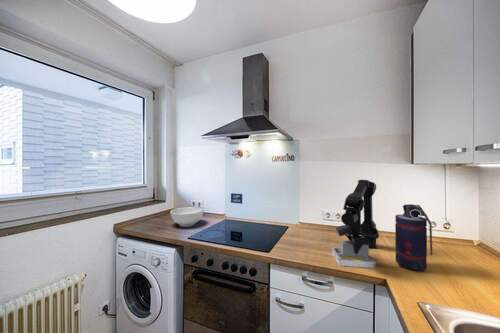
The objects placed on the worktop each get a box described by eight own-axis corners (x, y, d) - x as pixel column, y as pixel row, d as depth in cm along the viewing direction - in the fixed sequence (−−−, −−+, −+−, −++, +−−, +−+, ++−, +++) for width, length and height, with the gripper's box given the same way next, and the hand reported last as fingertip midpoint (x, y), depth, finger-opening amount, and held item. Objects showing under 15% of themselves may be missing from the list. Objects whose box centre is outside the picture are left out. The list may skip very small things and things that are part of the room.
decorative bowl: (162, 228, 155) (162, 212, 155) (183, 219, 181) (183, 206, 181) (192, 231, 147) (192, 215, 147) (209, 221, 173) (209, 208, 173)
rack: (362, 254, 109) (362, 248, 109) (375, 268, 94) (375, 261, 94) (331, 252, 111) (331, 246, 111) (339, 265, 96) (339, 258, 96)
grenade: (393, 265, 96) (393, 204, 96) (397, 258, 104) (397, 201, 105) (431, 277, 86) (431, 209, 86) (433, 267, 95) (433, 205, 95)
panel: (365, 253, 100) (365, 241, 100) (368, 256, 96) (368, 244, 96) (340, 251, 102) (340, 240, 102) (342, 255, 98) (342, 243, 98)
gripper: (332, 215, 109) (332, 243, 109) (343, 225, 91) (343, 259, 91) (353, 216, 108) (353, 244, 108) (369, 227, 89) (369, 261, 89)
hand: (354, 251), depth 99 cm, fingers closed on panel, 4 cm apart
